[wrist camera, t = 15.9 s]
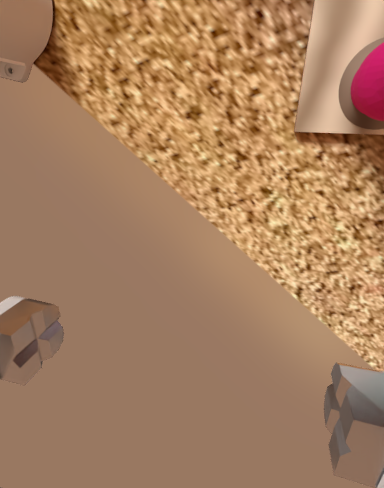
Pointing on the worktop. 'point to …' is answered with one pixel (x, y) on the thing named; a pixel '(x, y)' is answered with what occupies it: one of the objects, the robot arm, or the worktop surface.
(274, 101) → the worktop surface
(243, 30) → the worktop surface
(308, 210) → the worktop surface
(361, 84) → the pepper mill
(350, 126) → the condiment board
